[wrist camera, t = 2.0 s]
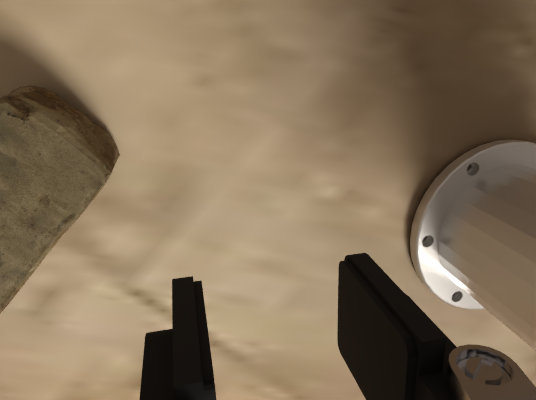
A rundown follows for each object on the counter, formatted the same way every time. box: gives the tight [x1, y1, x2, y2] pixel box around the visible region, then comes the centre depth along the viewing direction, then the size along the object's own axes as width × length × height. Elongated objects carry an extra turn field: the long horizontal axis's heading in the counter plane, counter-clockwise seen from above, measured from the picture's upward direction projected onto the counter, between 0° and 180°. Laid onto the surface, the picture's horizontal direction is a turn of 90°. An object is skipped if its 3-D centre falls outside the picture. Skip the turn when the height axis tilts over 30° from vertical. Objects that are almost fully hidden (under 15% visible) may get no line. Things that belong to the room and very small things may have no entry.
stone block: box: [0, 86, 120, 313], centre depth 22 cm, size 6×12×5 cm, turn 140°
